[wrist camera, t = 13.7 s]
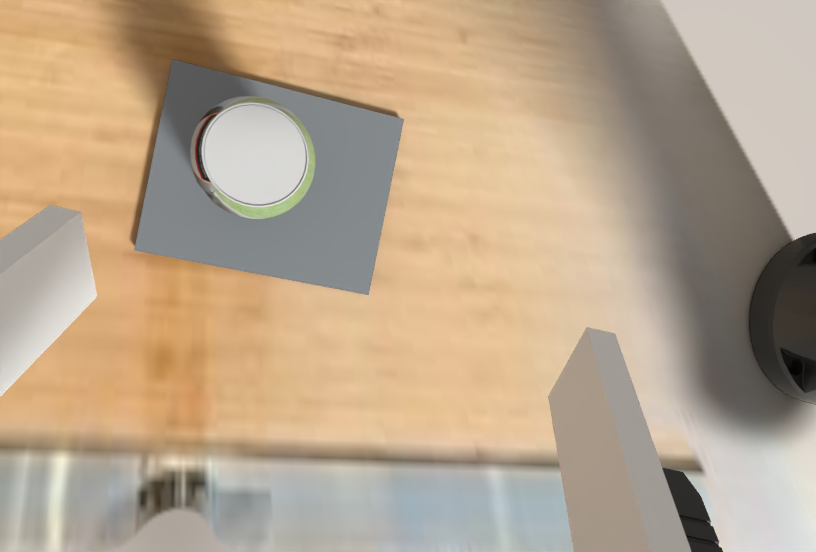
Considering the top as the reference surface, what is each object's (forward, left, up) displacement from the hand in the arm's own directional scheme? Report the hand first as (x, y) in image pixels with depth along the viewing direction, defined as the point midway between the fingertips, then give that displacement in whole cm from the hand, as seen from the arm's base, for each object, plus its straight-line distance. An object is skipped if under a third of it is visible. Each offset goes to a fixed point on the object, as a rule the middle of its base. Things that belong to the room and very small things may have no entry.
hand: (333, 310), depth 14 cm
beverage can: (+5, -6, -24) cm, 25 cm away
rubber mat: (+4, -6, -24) cm, 25 cm away
